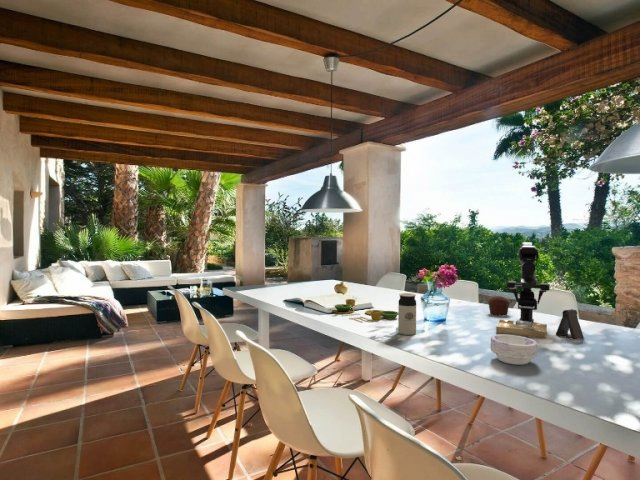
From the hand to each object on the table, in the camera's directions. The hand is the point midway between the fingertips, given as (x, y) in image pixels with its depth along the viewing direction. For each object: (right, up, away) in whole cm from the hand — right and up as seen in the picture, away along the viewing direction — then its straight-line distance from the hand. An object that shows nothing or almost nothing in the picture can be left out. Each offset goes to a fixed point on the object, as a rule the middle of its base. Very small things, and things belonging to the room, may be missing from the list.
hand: (527, 303), depth 202 cm
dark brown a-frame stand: (+9, -12, -20) cm, 25 cm away
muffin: (-1, -11, +31) cm, 32 cm away
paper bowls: (-33, -13, -54) cm, 65 cm away
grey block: (-5, -12, -5) cm, 13 cm away
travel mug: (-63, -12, -14) cm, 65 cm away
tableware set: (-79, -12, +30) cm, 85 cm away
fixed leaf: (-9, -12, -12) cm, 19 cm away
